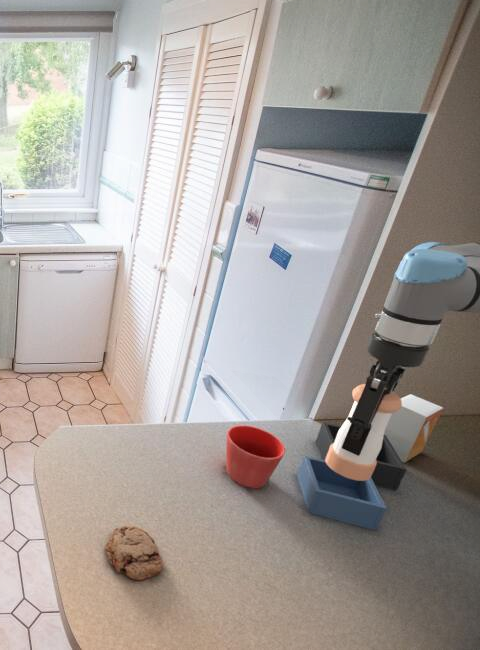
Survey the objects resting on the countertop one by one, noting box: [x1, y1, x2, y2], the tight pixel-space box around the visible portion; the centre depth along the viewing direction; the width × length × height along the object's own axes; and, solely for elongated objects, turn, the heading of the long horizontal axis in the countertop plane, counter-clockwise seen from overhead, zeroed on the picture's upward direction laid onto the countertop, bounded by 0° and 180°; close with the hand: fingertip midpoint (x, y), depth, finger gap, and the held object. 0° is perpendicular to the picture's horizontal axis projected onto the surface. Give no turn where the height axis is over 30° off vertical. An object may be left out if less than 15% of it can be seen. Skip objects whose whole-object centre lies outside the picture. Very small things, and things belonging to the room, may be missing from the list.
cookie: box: [104, 525, 164, 581], centre depth 82 cm, size 10×11×3 cm
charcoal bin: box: [315, 421, 407, 491], centre depth 103 cm, size 12×12×6 cm
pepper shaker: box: [325, 383, 402, 481], centre depth 87 cm, size 7×7×19 cm
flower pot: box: [225, 424, 286, 489], centre depth 99 cm, size 11×11×10 cm
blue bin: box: [296, 455, 387, 532], centre depth 93 cm, size 11×11×6 cm
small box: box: [384, 393, 444, 464], centre depth 106 cm, size 8×6×13 cm
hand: (357, 443), depth 88 cm, fingers closed on pepper shaker, 7 cm apart
